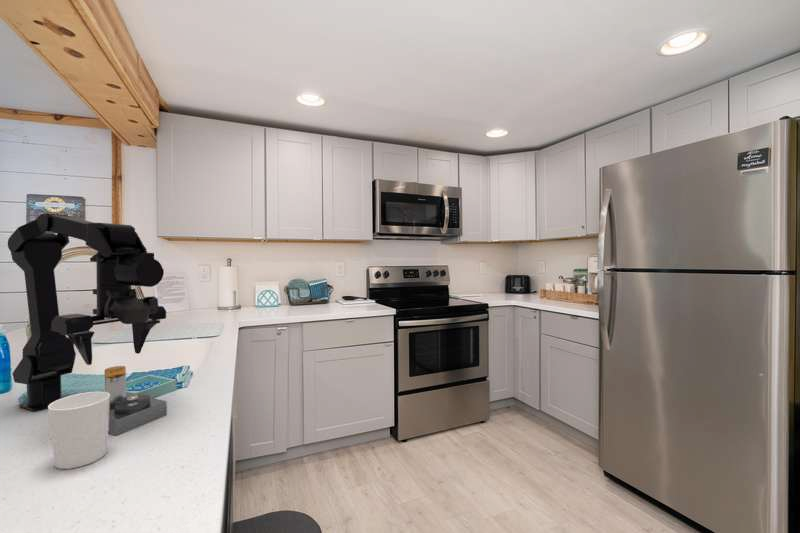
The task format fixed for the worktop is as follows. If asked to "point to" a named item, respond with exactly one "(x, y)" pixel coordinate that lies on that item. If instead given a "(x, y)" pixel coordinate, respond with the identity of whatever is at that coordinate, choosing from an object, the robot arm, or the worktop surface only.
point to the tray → (156, 390)
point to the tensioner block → (134, 412)
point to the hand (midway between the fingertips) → (114, 358)
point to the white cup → (79, 428)
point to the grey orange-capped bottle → (115, 383)
